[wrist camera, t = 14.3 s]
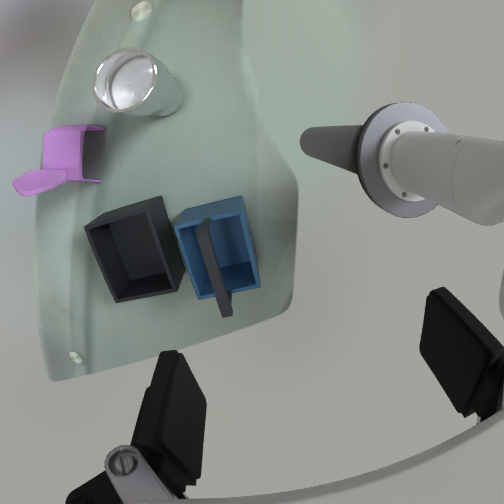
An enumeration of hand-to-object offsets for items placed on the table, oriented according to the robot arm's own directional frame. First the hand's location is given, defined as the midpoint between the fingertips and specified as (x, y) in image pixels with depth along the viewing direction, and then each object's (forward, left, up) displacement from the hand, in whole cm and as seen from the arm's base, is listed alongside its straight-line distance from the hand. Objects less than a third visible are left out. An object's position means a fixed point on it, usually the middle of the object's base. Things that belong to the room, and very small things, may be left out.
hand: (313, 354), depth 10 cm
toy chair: (+24, -12, -34) cm, 43 cm away
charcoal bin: (+19, +4, -33) cm, 39 cm away
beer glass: (+10, -16, -34) cm, 38 cm away
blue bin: (+7, +6, -33) cm, 35 cm away
